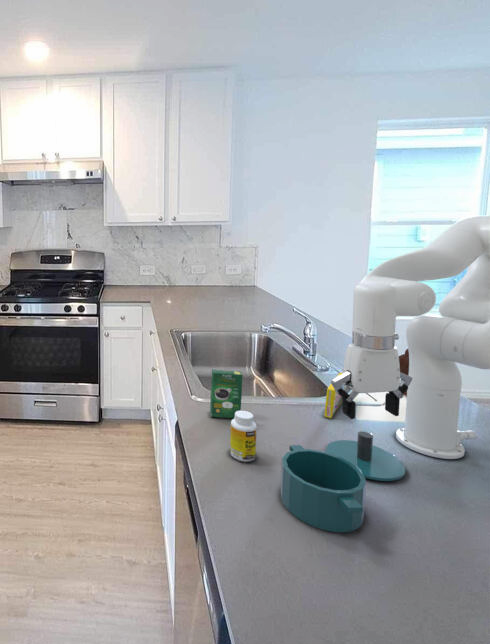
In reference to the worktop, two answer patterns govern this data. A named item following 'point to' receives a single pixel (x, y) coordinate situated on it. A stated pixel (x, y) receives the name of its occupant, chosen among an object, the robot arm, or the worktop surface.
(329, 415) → the candy box
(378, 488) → the worktop surface
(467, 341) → the robot arm
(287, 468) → the pot
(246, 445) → the supplement bottle
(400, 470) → the lid
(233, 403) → the coffee box
